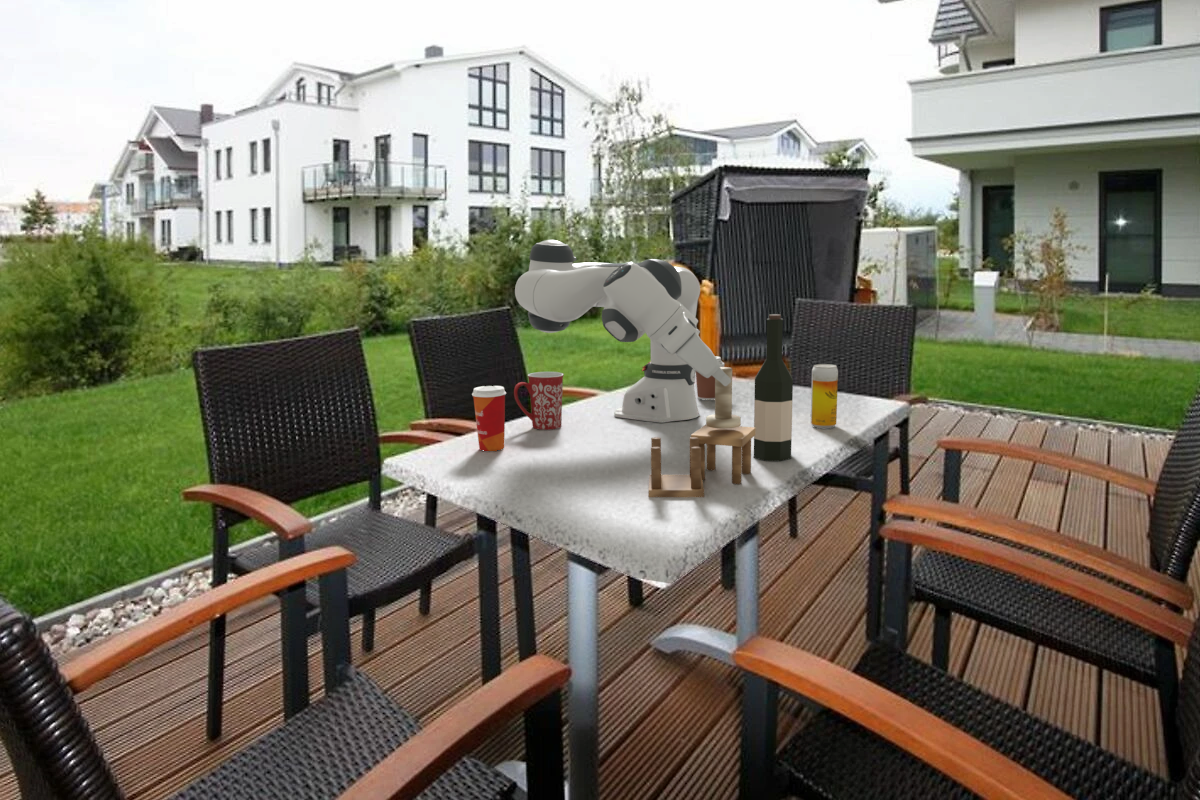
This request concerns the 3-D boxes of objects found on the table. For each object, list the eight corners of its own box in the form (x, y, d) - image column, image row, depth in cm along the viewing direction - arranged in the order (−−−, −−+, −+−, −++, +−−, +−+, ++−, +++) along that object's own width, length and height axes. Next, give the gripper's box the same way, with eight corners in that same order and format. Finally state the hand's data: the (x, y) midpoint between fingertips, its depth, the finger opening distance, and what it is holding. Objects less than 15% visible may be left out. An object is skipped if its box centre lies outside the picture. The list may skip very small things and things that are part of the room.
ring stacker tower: (701, 427, 155) (701, 370, 153) (711, 419, 161) (712, 365, 159) (735, 429, 152) (736, 372, 150) (744, 422, 158) (745, 366, 156)
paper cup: (475, 445, 187) (472, 385, 185) (509, 443, 188) (506, 384, 185) (473, 453, 180) (470, 392, 177) (508, 452, 180) (505, 390, 178)
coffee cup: (689, 400, 233) (689, 359, 231) (697, 394, 242) (697, 354, 239) (720, 401, 230) (720, 360, 228) (727, 396, 238) (727, 355, 236)
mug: (561, 421, 210) (559, 370, 207) (568, 429, 201) (567, 375, 199) (512, 425, 207) (510, 373, 204) (518, 433, 198) (516, 379, 195)
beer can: (837, 429, 194) (839, 367, 191) (811, 429, 195) (812, 367, 192) (835, 423, 200) (837, 363, 197) (809, 423, 201) (811, 363, 198)
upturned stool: (648, 498, 147) (647, 450, 145) (649, 482, 156) (648, 436, 155) (704, 498, 146) (704, 449, 144) (701, 482, 156) (701, 436, 154)
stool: (691, 480, 156) (690, 434, 154) (706, 466, 165) (706, 423, 163) (741, 485, 152) (742, 439, 150) (754, 471, 161) (755, 427, 159)
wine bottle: (761, 449, 178) (764, 312, 172) (798, 454, 173) (801, 313, 167) (745, 458, 171) (747, 315, 165) (783, 463, 166) (786, 317, 160)
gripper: (662, 336, 164) (710, 383, 166) (665, 350, 144) (720, 403, 146) (684, 314, 163) (732, 361, 164) (691, 324, 143) (746, 378, 144)
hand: (727, 381), depth 155 cm, fingers closed on ring stacker tower, 3 cm apart
